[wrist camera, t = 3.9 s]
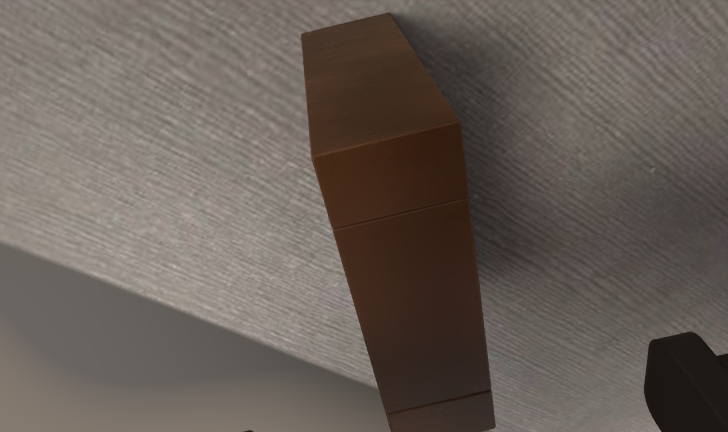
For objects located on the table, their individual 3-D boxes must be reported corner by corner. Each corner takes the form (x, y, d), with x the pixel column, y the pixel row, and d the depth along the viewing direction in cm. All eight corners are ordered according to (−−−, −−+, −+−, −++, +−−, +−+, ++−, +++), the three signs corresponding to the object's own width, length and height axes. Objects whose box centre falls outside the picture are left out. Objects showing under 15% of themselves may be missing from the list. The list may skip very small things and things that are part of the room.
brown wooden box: (362, 264, 24) (397, 452, 16) (300, 33, 18) (310, 156, 11) (430, 248, 24) (496, 429, 16) (389, 12, 18) (460, 120, 11)
